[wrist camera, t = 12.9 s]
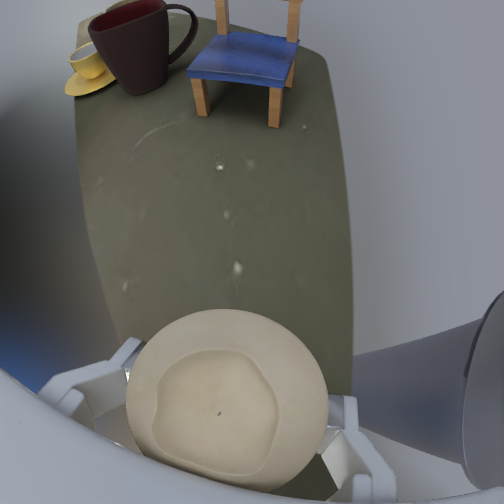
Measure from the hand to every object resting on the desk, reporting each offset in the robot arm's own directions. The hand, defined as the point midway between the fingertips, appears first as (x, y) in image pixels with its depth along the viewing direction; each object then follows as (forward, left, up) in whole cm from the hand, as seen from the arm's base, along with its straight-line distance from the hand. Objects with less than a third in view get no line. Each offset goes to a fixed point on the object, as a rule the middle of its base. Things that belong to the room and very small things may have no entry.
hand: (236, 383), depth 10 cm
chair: (+18, -25, -12) cm, 33 cm away
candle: (0, +1, -6) cm, 6 cm away
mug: (+32, -23, -12) cm, 41 cm away
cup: (+44, -20, -12) cm, 50 cm away
